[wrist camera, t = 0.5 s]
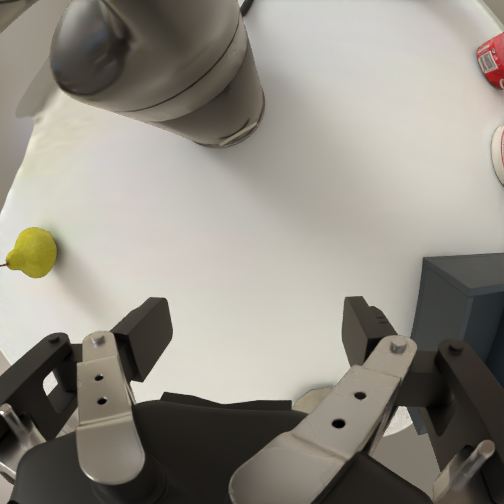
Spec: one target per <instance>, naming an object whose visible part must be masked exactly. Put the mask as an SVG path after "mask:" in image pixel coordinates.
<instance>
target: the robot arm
mask: <svg viewBox="0 0 504 504" xmlns="http://www.w3.org/2000/svg"><path fill="white" fill-rule="evenodd" d="M37 1H38V0H0V33H1V32H3V31H4V30H5V29H6V28H7V27H8V26H9V25H10V24H11V23H12V22H13V21H14V20H15V19H17V18H18V17H19V16H20V15H21V14H22V13H23V12H24V11H26V10H27V9H28V8H29V7H31V6H32V5H33V4H34V3H35V2H37ZM252 2H253V0H245V1H244V3H243V4H242V6H241V8H239V4H238V0H71V2H70V3H69V5H68V6H67V7H66V9H65V11H64V12H63V14H62V16H61V18H60V20H59V22H58V24H57V27H56V29H55V32H54V35H53V39H52V43H51V48H50V68H51V72H52V75H53V78H54V80H55V82H56V83H57V85H58V86H59V88H60V89H61V90H62V91H63V92H64V93H65V94H67V95H68V96H70V97H71V98H73V99H75V100H77V101H80V102H82V103H85V104H88V105H91V106H95V107H98V108H101V109H104V110H107V111H111V112H114V113H117V114H120V115H123V116H126V117H129V118H132V119H136V120H139V121H141V122H144V123H147V124H150V125H153V126H156V127H158V128H161V129H164V130H167V131H169V132H172V133H175V134H177V135H180V136H182V137H185V138H188V139H190V140H192V141H194V142H195V143H198V144H200V145H203V146H206V147H212V148H223V147H228V146H232V145H235V144H237V143H239V142H241V141H243V140H244V139H246V138H247V137H249V136H250V135H251V134H252V133H253V132H254V131H255V129H256V128H257V127H258V125H259V124H260V122H261V120H262V117H263V114H264V110H265V97H264V93H263V90H262V87H261V84H260V80H259V76H258V72H257V68H256V64H255V60H254V57H253V53H252V49H251V45H250V42H249V38H248V35H247V31H246V27H245V25H244V21H243V18H242V17H243V16H244V15H245V14H246V12H247V11H248V9H249V8H250V6H251V4H252ZM172 335H173V328H172V323H171V317H170V312H169V306H168V302H167V299H166V298H158V297H150V298H148V299H147V300H146V301H145V302H144V303H143V304H142V305H141V306H140V307H138V308H136V309H134V310H132V311H131V312H130V313H129V314H128V315H127V316H126V317H124V318H123V319H122V321H120V322H119V323H118V324H117V325H116V326H115V327H114V328H113V329H111V330H110V331H98V332H94V333H92V334H89V335H88V336H86V337H85V338H84V340H83V344H71V343H70V340H69V337H68V335H67V334H65V333H53V334H50V335H48V336H46V337H45V338H44V339H42V340H41V341H40V342H39V343H38V344H36V345H35V346H34V347H33V348H32V349H30V350H29V351H28V352H27V353H26V354H25V355H24V356H22V357H21V358H20V359H19V360H18V361H17V362H16V363H14V364H13V365H12V366H11V367H10V368H9V369H8V370H7V371H5V372H4V373H3V374H2V375H1V376H0V474H1V475H2V476H3V477H4V478H5V479H6V480H7V481H8V482H9V483H11V484H13V485H14V487H13V491H12V494H11V497H10V499H9V502H8V503H7V504H504V389H503V388H502V386H501V385H500V384H499V382H498V381H497V380H496V378H495V377H494V376H493V374H492V373H491V372H490V370H489V369H488V368H487V366H486V365H485V364H484V363H483V361H482V360H481V359H480V358H479V356H478V355H477V354H476V353H475V351H474V350H473V349H472V348H471V346H470V345H469V344H467V343H466V342H464V341H462V340H459V339H454V338H449V339H444V340H442V341H441V342H440V343H439V345H438V348H437V351H423V350H417V345H416V343H415V342H414V341H413V340H412V339H410V338H408V337H405V336H400V335H398V334H397V333H396V331H395V330H394V328H393V327H392V325H391V324H390V323H389V321H388V319H387V318H386V316H385V315H384V314H383V312H382V311H381V310H379V309H378V308H376V307H374V306H368V304H367V303H366V301H365V299H364V298H363V297H362V296H354V297H345V301H344V311H343V322H342V342H343V345H344V348H345V351H346V354H347V357H348V361H349V364H350V367H351V368H350V369H349V371H348V372H347V373H346V374H345V375H344V377H343V378H342V379H341V380H340V381H339V382H338V383H337V385H336V386H335V387H334V388H333V389H332V390H331V391H330V392H329V393H328V395H327V396H326V397H325V398H324V399H323V400H322V401H321V402H320V403H319V404H318V405H317V406H316V407H315V408H314V409H313V410H312V411H311V412H310V413H309V414H308V413H305V412H302V411H298V410H292V400H256V401H249V402H241V403H233V404H220V403H216V402H212V401H209V400H206V399H202V398H199V397H196V396H192V395H184V394H176V393H169V392H164V393H163V395H162V397H161V399H160V400H152V401H146V402H141V403H138V404H137V403H136V400H135V397H134V394H133V391H132V388H131V385H130V382H131V380H132V381H137V382H143V381H144V380H145V378H146V377H147V375H148V374H149V372H150V371H151V369H152V368H153V366H154V365H155V363H156V362H157V360H158V359H159V357H160V356H161V354H162V353H163V352H164V350H165V349H166V347H167V346H168V344H169V343H170V341H171V339H172ZM51 371H53V373H54V376H55V378H56V380H57V382H58V384H57V386H56V387H55V388H54V389H53V390H52V391H51V392H50V393H49V395H48V396H47V395H46V393H45V391H44V389H43V381H44V379H45V377H46V376H47V375H48V374H49V373H50V372H51ZM454 396H455V398H456V401H457V403H456V401H455V399H454ZM399 406H406V407H418V409H419V411H420V414H421V416H422V419H423V422H424V424H425V427H426V430H427V433H428V435H429V438H430V441H431V444H432V447H433V449H434V453H435V456H436V459H437V462H438V465H439V468H440V472H441V473H440V475H439V476H438V477H437V478H436V480H435V482H434V485H433V500H431V498H430V497H429V496H428V495H427V494H426V493H425V492H423V491H422V490H420V489H419V488H417V487H416V486H414V485H412V484H411V483H409V482H408V481H406V480H405V479H403V478H401V477H400V476H398V475H397V474H395V473H394V472H392V471H391V470H389V469H388V468H386V467H385V466H384V465H382V464H381V463H379V462H378V461H376V460H375V459H374V458H372V457H371V456H372V454H373V452H374V450H375V449H376V447H377V445H378V443H379V441H380V439H381V438H382V436H383V434H384V433H385V431H386V429H387V427H388V426H389V424H390V422H391V420H392V418H393V417H394V415H395V413H396V411H397V409H398V407H399ZM77 407H78V415H79V425H77V426H76V429H75V431H73V432H70V433H68V434H65V435H63V436H60V437H57V435H58V434H59V432H60V431H61V430H62V428H63V427H64V425H65V424H66V423H67V421H68V420H69V418H70V417H71V416H72V414H73V413H74V412H75V410H76V409H77ZM56 437H57V438H56Z"/></svg>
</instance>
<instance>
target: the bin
mask: <svg viewBox="0 0 504 504" xmlns="http://www.w3.org/2000/svg"><path fill="white" fill-rule="evenodd" d="M449 338H454V339H459V340H462V341H464V342H466V343H467V344H469V345H470V346H471V348H472V349H473V350H474V351H475V353H476V354H477V355H478V356H479V358H480V359H481V360H482V361H483V363H484V364H485V365H486V366H487V368H488V369H489V370H490V372H491V373H492V374H493V376H494V377H495V378H496V380H497V381H498V382H499V384H500V385H501V386H502V388H503V389H504V253H493V254H477V255H460V256H442V257H424V258H423V266H422V275H421V282H420V289H419V296H418V302H417V308H416V314H415V319H414V324H413V329H412V333H411V338H410V339H412V340H413V341H414V342H415V343H416V345H417V350H423V351H437V348H438V345H439V343H440V342H441V341H442V340H444V339H449ZM454 399H455V401H456V398H455V396H454ZM456 403H457V401H456ZM407 410H408V412H409V414H410V417H411V419H412V421H413V424H414V426H415V429H416V431H417V434H418V435H421V434H425V433H427V430H426V427H425V424H424V422H423V419H422V416H421V414H420V411H419V409H418V407H407Z"/></svg>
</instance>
